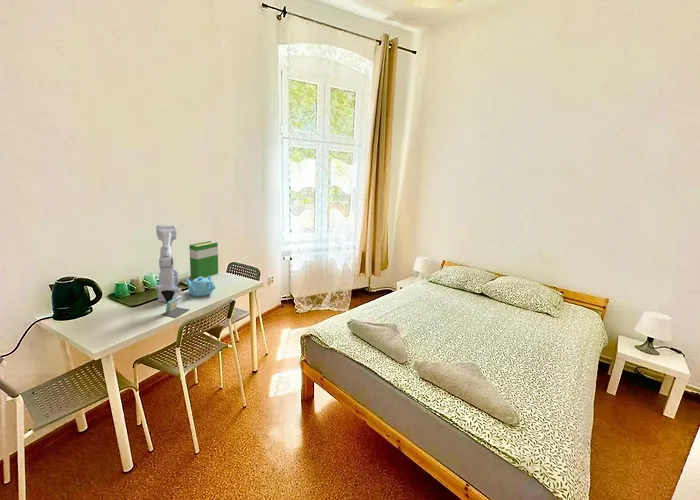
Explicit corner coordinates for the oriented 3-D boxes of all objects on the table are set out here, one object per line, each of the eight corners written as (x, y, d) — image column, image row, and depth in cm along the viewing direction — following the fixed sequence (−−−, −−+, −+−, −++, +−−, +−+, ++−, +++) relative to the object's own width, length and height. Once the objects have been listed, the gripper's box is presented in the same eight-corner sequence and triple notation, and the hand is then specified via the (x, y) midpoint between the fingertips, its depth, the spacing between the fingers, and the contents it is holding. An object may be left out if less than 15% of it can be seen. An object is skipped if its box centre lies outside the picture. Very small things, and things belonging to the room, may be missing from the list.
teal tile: (165, 311, 167) (167, 301, 165) (172, 308, 172) (174, 298, 170) (169, 313, 167) (170, 303, 165) (175, 309, 171) (177, 299, 170)
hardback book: (211, 271, 237) (210, 241, 231) (218, 273, 234) (217, 242, 228) (190, 277, 221) (189, 245, 216) (198, 280, 218) (196, 246, 213)
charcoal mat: (161, 314, 165) (161, 314, 165) (175, 307, 174) (175, 306, 174) (176, 317, 163) (176, 316, 163) (189, 310, 173) (189, 309, 173)
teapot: (188, 299, 186) (188, 282, 184) (185, 291, 198) (184, 274, 196) (216, 295, 195) (215, 279, 192) (211, 287, 207) (210, 272, 204)
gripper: (149, 279, 163) (151, 303, 166) (173, 283, 160) (175, 307, 163) (160, 275, 169) (161, 298, 173) (183, 279, 167) (184, 302, 170)
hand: (169, 302), depth 168 cm, fingers closed
